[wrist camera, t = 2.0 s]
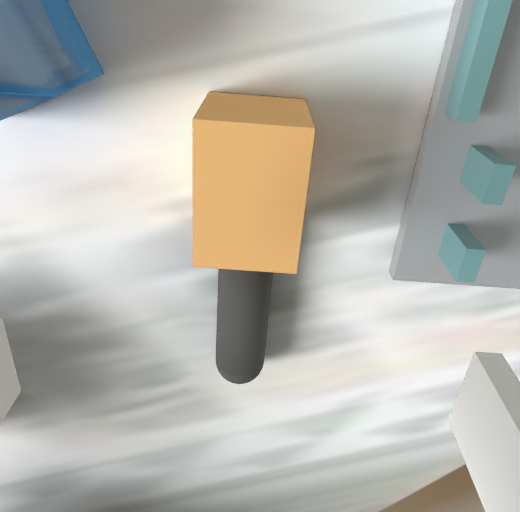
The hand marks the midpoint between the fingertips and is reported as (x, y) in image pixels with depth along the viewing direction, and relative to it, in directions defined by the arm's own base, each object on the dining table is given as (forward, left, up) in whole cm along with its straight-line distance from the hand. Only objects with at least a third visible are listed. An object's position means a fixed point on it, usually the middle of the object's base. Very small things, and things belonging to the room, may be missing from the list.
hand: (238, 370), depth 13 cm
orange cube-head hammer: (-4, 0, -15) cm, 16 cm away
